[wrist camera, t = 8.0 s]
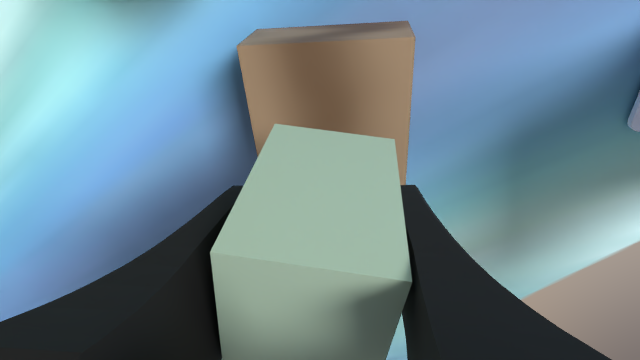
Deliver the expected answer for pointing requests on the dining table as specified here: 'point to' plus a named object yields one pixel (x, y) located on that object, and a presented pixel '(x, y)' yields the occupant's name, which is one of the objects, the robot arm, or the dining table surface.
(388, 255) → the sage block
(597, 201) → the dining table surface
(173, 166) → the dining table surface
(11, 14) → the dining table surface
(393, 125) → the walnut slab
